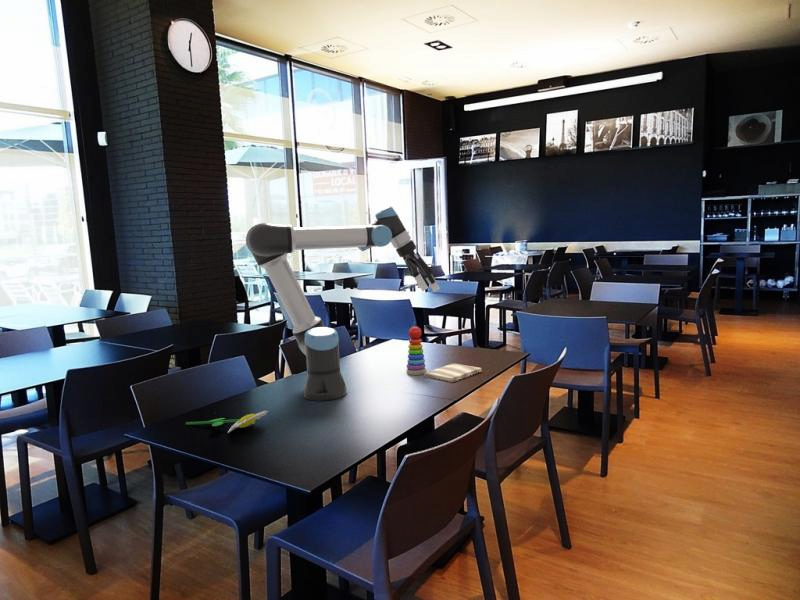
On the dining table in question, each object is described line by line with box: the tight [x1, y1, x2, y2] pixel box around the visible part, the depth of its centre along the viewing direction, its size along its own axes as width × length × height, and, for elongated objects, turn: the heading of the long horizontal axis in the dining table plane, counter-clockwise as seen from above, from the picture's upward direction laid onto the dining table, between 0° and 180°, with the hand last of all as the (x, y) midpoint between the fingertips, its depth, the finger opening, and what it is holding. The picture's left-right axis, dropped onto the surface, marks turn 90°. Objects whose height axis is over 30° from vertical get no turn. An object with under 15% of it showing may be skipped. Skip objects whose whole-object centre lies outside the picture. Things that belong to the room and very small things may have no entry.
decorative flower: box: [185, 410, 269, 434], centre depth 167 cm, size 13×5×30 cm
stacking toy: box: [406, 326, 427, 376], centre depth 219 cm, size 8×8×19 cm
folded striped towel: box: [423, 363, 482, 383], centre depth 216 cm, size 18×14×2 cm
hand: (431, 290), depth 218 cm, fingers open, 13 cm apart
